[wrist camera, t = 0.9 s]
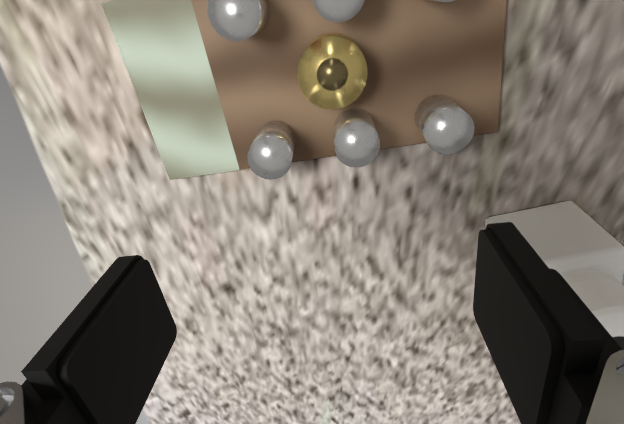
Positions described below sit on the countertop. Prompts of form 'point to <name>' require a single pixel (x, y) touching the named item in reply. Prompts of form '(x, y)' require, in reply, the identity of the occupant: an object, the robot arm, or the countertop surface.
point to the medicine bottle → (578, 257)
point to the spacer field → (350, 123)
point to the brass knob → (332, 71)
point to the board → (284, 81)
